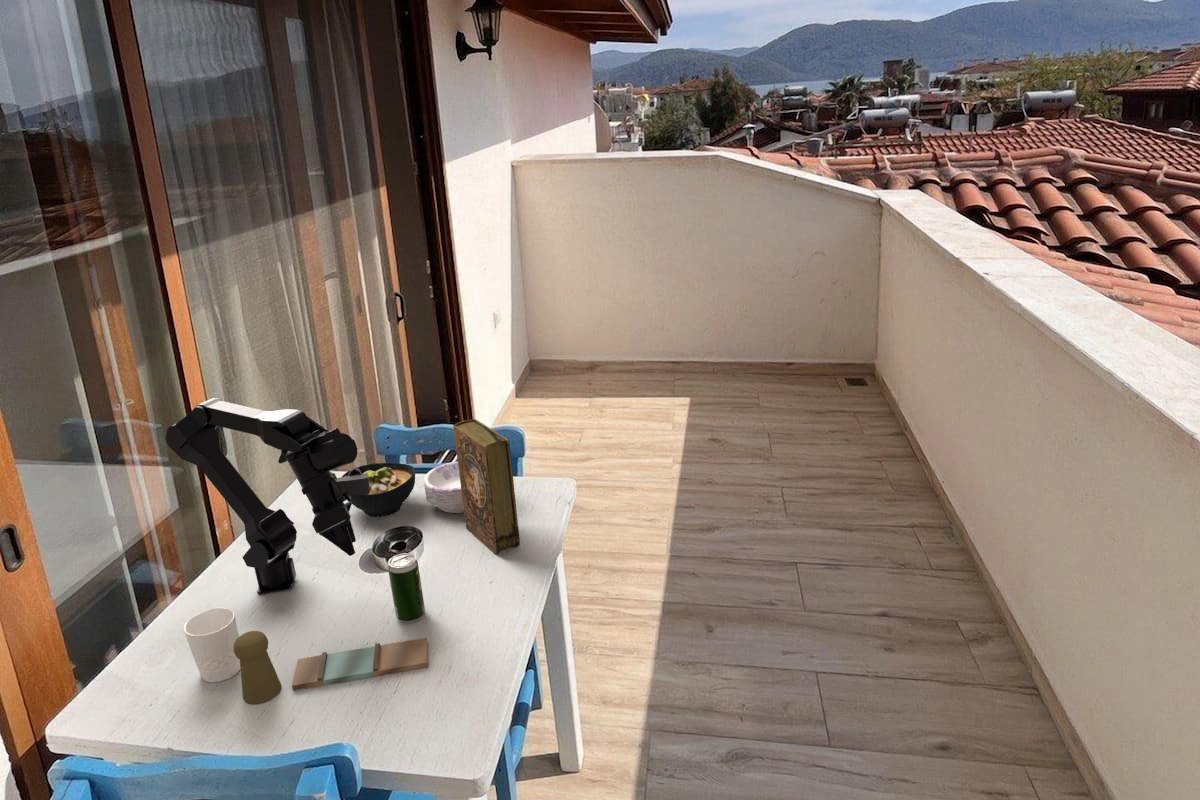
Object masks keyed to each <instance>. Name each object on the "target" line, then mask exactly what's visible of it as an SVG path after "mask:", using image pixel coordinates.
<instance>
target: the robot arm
mask: <svg viewBox="0 0 1200 800" xmlns="http://www.w3.org/2000/svg"><path fill="white" fill-rule="evenodd" d="M218 427H220V428H224V429H227V430H228V429H229V430H232V431H237V432H241V433H245V434H250V435H254V436H255V437H259V438H260V440H261V441H262V442H263V444H265V445H267V446H269V447H271V448H274V449H276V450H278V451H281V452H280V456H279V458H278V460H277V462H278V463H279V464H281V465H282V464H284V463H286V462H287V463H288V465H289V467H290V469H291V470H292V472H293V474H294V475H295V477H296V480H297V481H298V483H299V485H300V487H301V492H302V495H305V496H306V497H307V498H306V499H307V500H308V502H309V504H310V505H311V510H312V513H313V514H314V516H313V519H312V522H311V526H312V528H313V529H314V531H315V532H316V533H315V534H318V535H319V536H321V537H323V538H325V539H326V540H327V541H328V542H330V543H332V544H333V545H335V546H336V547H337V548H338V549H340V550H341V551H343V552H344V553H345V554H347V555H348V556H349V557H350V556H353V555H356V550H355V548H354V544H353V543H355V542H356V541H357V539H356V536H355V531H354V528H353V525H352V521H351V517H352V516H351V514H350V510H351V508H352V505H353V504H352V501H351V496H352V495H360V494H361V495H367V494H370V487H369V478H368V474H366V473H365V474H362V473H361V471H360V470H359V469H354V468H351V469H350V473H349V475H348V476H344V477H342V476H341V477H337V475H336V473H335V472H333V471H332V470H335V469H338V468H341V467H343V466H346V465H350V464H352V463H354V462H355V460H356V459H357V457H358V446H357V444H356V441H355V440H354V439H353V438H352V437H351V436H350V435H348V434H346V433H344V432H341V431H340V429H339V428H338V427H335V428H333V429H331V430H328V429H326V428H325V427H324V426H323V425H321V424H319V423H318V422H316V421H314V419H312V418H311V417H310V416H307V415H306V413H305V411H303V410H300V409H287V408H286V409H277V410H271V411H270V410H264V409H258V408H255V407H250V406H245V405H241V404H238V403H232V402H228V401H224V400H222V399H221V398H219V397H212V398H210V399H207V400H206V401H204V402H202V403H199V404H196V406H194V408H193V409H192V410H191V411H190V413H188V414H186V416H184V417H183V418H182V419H181V420H180V421H178V422H177V423H174V424H172V425H170V426H169V427H167V428H166V429H167V430H166V432H165V435H166V436H165V442H166V444H167V446H168V447H169V448H170V449H171V450H172V451H173V452H174V454H176V455H177V456H178V457H179V458H180V460H183V461H185V462H187V463H190V464H193V465H194V466H197V467H198V468H199V469H200V470H201V471H202V473H203V474H204V475H205V476H206V478H207V479H208V481H210V483H211V484H212V485H213V486H214V487H215V489H216V490H217V491H218V493H219V494H220V495H221V497H222V498H223V499H224V500H225V502H226V503H227V504H228V506H230V508H231V509H232V510H233V511H234V513H235V514H236V515H237V516H238V517H239V519H240V520H241V521H242V523H243V524H244V533H245V540H246V542H247V543H248V545H249V548H248V550H247V551H246V552H245V553H244V555H243V556H242V559H243V561H244V563H245V565H246V567H248V568H254V572H255V577H256V580H257V585H258V588H257V590H256V593H257V594H258V595H262V594H270V593H275V592H281V591H287V590H291V589H292V587H293V584H294V581H296V580H295V579H296V576H297V572H296V567H295V563H294V559H293V557H290V554H289V552H290V551H291V550H293V549H294V548H295V544H296V542H297V534H298V531H297V529H296V527H295V526H294V525H295V522H294V521H292V520H291V519H290V518H289V517H288V515H287V514H286V512H285V510H282V508H278V509H277V510H273V509H271V508H268V507H267V506H266V505H265V504H264V503H263V501H262V500H261V499H260V498H259V497H258V495H257V494H256V492H255V491H254V489H252V487H251V486H250V485H249V484H248V483H247V481H246V480H245V479H244V478H243V476H242V475H241V474H240V473H239V472H238V470H237V469H236V467H234V465H233V464H232V463H231V461H230V460H229V459H228V458H227V456H226V455H225V454H224V452H223V451H222V449H221V438H220V434H219V431H217V428H218ZM346 501H347V502H346ZM349 501H350V502H349ZM345 502H346V503H345Z"/></svg>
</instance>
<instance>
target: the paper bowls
mask: <svg viewBox="0 0 1200 800" xmlns="http://www.w3.org/2000/svg"><path fill="white" fill-rule="evenodd" d="M423 486H424V492H425V498H426V501H427V503H429V504H430V505H433V506H435V507H437V508H438V509H439V510H440V511H442V512H445V513H448V514H449V513H450V514H459V513H460V514H462V513H464V507H463V499H462V491H461V483H460V476H459V468H458V461H452V462H447V463H444V464H442V465H441V464H440V465H438V466H436V467H434V468H432V469H431V470H429V471H428V472H427V473H426V474H425V476H424V479H423Z"/></svg>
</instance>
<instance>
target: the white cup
mask: <svg viewBox="0 0 1200 800" xmlns="http://www.w3.org/2000/svg"><path fill="white" fill-rule="evenodd" d="M238 629H239V628H238V625H237V620H236V614H235V611H234V610H232V609H230V608H227V607H213V608H210V609H206V610H204V611H201V612H198V613H196V614H195V615H193V616H192V617H191V618H189V619H188V620H187V621H186V623H185V624H184V626H183V631H184V634H185V637H186V639H187V644H188V646H189V649H190V652H191V655H192V657H193V660H194V663H195V665H196V667H197V669H198V673H199V675H200V678H202V680H203V681H204V682H208V683H220V682H223V681H226V680H228V679H231V678H232V677H233V676H235V675H236V674H238V673H239V672H240V671H241V668H240V659H238V658H237V657H236V655H235V653H234V650H233V649H234V643H235V641H236V639H237V638H238V637H239V636H240V635H239V630H238Z"/></svg>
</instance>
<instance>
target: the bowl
mask: <svg viewBox="0 0 1200 800" xmlns="http://www.w3.org/2000/svg"><path fill="white" fill-rule="evenodd" d="M353 469H359V470H360V471H361V473H362V474H365V473H366V474H368V478H369V487H370V494H367V495H361V494H360V495H352V496H351V501H352V505H353V506H354V507H355V508H356V509H358V510H360V511H362V512H363V513H364V514H365V515H366V516H367V517H369V518H386V517H389V516H393V515H395V514H396V513H398V512H399V511H400V510H401V508H402V506H403V504H404V503H405V501H406V500H407V499H408V498H409V497H410V495H411V493H412V492H413V490H414V488H415V484H416V469H415V467H414V466H412V465H410V464H407V463H399V462H398V463H397V462H378V463H377V462H376V463H370V464H364V465H363V464H362V465H360V466H357V467H354V468H353ZM350 470H351V469H350ZM350 470H349V469H348V471H346V472H344V474H342V475H341V477H344V476H348V475H349V473H350ZM349 502H350V501H349Z"/></svg>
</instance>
